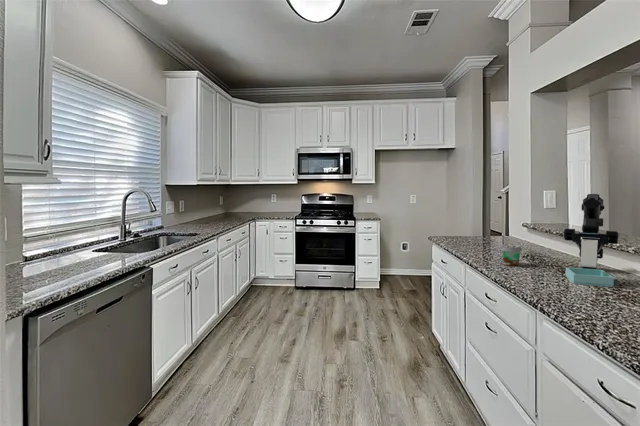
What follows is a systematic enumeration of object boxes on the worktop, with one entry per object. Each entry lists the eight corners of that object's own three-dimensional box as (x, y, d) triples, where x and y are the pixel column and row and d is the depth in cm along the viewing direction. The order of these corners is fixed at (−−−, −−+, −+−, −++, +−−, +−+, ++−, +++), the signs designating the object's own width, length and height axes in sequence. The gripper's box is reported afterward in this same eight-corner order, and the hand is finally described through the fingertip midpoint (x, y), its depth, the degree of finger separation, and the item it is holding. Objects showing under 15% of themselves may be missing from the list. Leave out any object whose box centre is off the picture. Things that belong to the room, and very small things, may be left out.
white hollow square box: (580, 266, 151) (581, 240, 150) (581, 263, 155) (582, 239, 154) (596, 267, 148) (597, 242, 147) (596, 265, 152) (597, 240, 151)
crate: (565, 275, 161) (565, 267, 161) (601, 278, 156) (602, 269, 155) (573, 283, 148) (573, 274, 148) (613, 286, 143) (613, 277, 143)
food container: (513, 268, 177) (514, 248, 176) (501, 265, 182) (502, 246, 182) (526, 264, 184) (526, 246, 183) (514, 262, 189) (514, 244, 188)
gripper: (565, 210, 158) (561, 238, 151) (619, 212, 147) (618, 242, 139) (566, 226, 165) (562, 253, 158) (617, 228, 153) (617, 258, 146)
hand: (589, 251), depth 150 cm, fingers closed on white hollow square box, 5 cm apart
